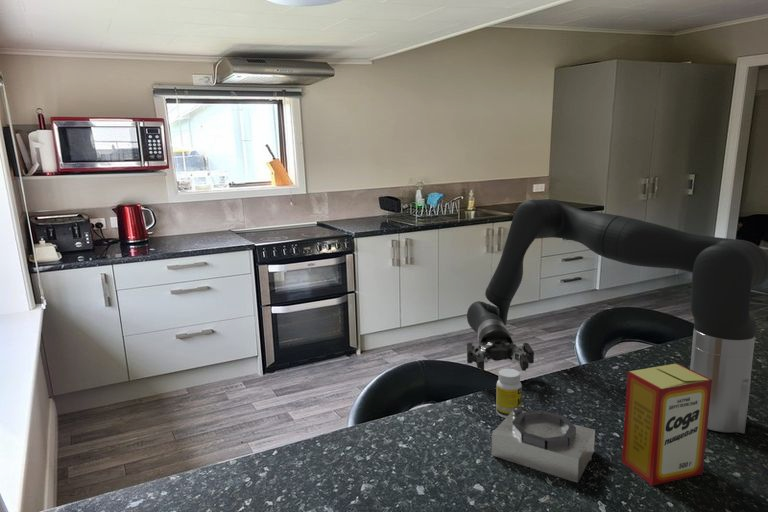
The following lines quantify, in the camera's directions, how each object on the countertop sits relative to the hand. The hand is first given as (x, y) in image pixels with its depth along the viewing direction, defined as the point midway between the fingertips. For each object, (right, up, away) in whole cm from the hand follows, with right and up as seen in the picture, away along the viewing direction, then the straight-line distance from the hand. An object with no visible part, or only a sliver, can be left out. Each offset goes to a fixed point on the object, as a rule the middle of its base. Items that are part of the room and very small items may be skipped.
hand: (503, 366), depth 109 cm
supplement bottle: (-1, -8, -7) cm, 11 cm away
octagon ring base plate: (+2, -10, -21) cm, 23 cm away
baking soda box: (+19, -11, -26) cm, 34 cm away
